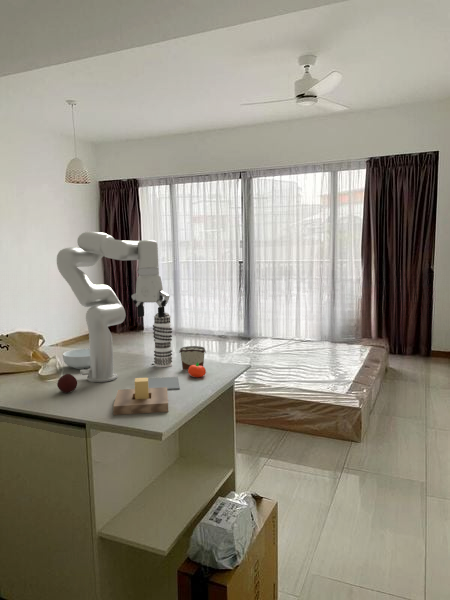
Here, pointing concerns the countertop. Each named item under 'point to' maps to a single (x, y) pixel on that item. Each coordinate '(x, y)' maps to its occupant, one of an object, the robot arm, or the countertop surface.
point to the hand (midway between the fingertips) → (151, 316)
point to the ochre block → (141, 388)
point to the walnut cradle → (141, 402)
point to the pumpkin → (196, 370)
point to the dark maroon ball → (67, 383)
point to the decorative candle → (162, 341)
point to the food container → (192, 356)
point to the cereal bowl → (77, 358)
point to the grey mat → (164, 383)
